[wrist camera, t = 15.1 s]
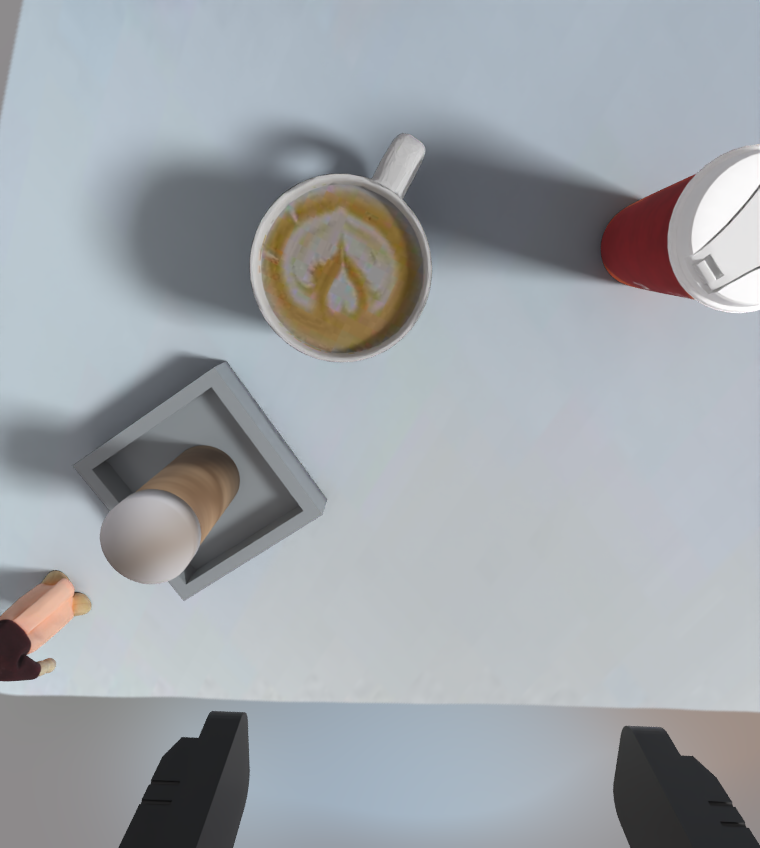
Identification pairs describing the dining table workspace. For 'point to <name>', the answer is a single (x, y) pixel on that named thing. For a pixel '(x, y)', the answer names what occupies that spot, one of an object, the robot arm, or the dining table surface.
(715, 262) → the paper cup
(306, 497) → the stoneware tray
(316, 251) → the coffee mug
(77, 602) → the grandmother figurine
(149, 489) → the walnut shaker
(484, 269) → the dining table surface
